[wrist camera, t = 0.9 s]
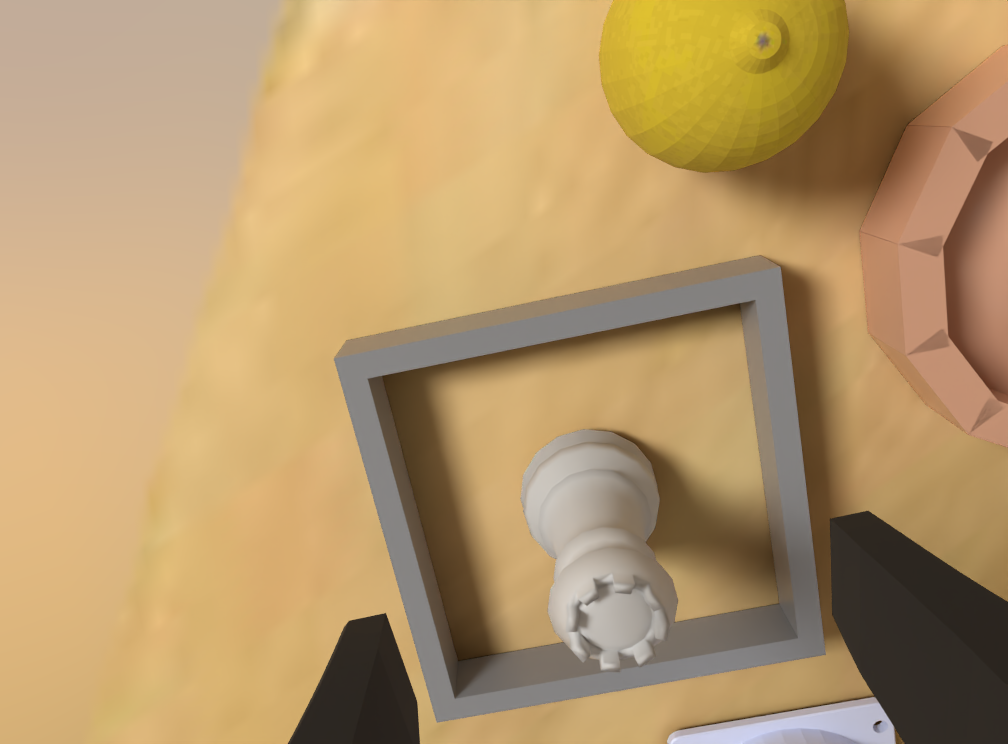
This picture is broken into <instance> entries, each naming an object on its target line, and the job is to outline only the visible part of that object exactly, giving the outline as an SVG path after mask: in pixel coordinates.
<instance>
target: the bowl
mask: <svg viewBox="0 0 1008 744" xmlns="http://www.w3.org/2000/svg"><path fill="white" fill-rule="evenodd" d="M859 232H860V244H861V255H862V267H863V278H864V290H865V301H866V312H867V324H868V332H869V334H870V335H871V337H872V338H873V339H874V340H875V342H876V343H877V344H878V345H879V347H880V348H881V349H882V350H883V352H884V353H885V354H886V355H887V357H888V358H889V359H890V360H891V362H892V363H893V364H894V365H895V367H896V368H897V369H898V370H899V372H900V373H901V374H902V375H903V377H904V378H905V379H906V380H907V382H908V383H909V384H910V385H911V387H912V388H913V389H914V390H915V392H916V393H917V394H918V396H919V397H920V398H921V399H922V401H923V402H924V403H925V404H926V405H927V406H928V407H930V408H931V409H933V410H934V411H935V412H937V413H938V414H940V415H941V416H943V417H944V418H945V419H947V420H948V421H950V422H951V423H952V424H954V425H955V426H957V427H958V428H960V429H961V430H962V431H964V432H965V433H967V434H968V435H971V436H974V437H977V438H980V439H983V440H986V441H989V442H992V443H996V444H999V445H1002V446H1005V447H1008V45H1004V46H1002V47H1001V48H999V49H998V50H997V51H996V52H995V53H993V54H992V55H991V56H990V57H988V58H987V59H986V60H985V61H984V62H982V63H981V64H980V65H979V66H978V67H976V68H975V69H974V70H973V71H972V72H970V73H969V74H968V75H967V76H966V77H964V78H963V79H962V80H961V81H960V82H958V83H957V84H956V85H955V86H954V87H952V88H951V89H950V90H949V91H948V92H946V93H945V94H944V95H943V96H941V97H940V98H939V99H938V100H937V101H935V102H934V103H933V104H932V105H931V106H929V107H928V108H927V109H926V110H925V111H923V112H922V113H921V114H920V115H919V116H917V117H916V118H915V119H914V120H913V121H911V122H910V123H909V124H908V125H907V126H906V128H905V131H904V133H903V135H902V137H901V139H900V142H899V144H898V146H897V148H896V151H895V153H894V155H893V157H892V160H891V162H890V164H889V166H888V168H887V171H886V173H885V175H884V177H883V180H882V182H881V184H880V186H879V188H878V191H877V193H876V195H875V197H874V200H873V202H872V204H871V206H870V209H869V211H868V213H867V215H866V217H865V220H864V222H863V224H862V226H861V229H860V231H859Z"/></svg>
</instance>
